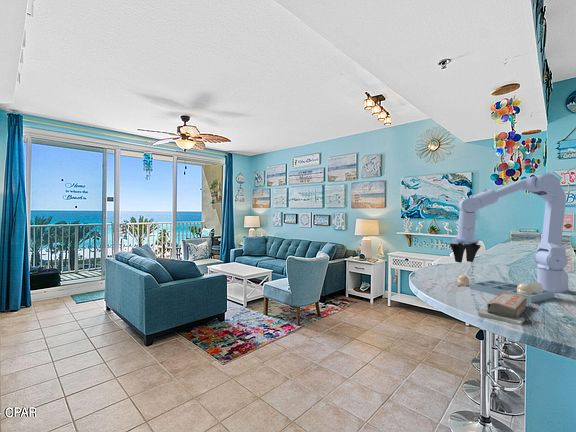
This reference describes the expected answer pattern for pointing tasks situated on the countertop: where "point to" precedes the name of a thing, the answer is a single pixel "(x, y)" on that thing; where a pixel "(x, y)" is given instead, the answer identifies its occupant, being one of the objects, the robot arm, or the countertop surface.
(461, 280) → the loose egg
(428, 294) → the countertop surface
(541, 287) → the seated egg
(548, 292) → the egg carton
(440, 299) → the countertop surface
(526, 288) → the seated egg
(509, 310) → the packaged product
